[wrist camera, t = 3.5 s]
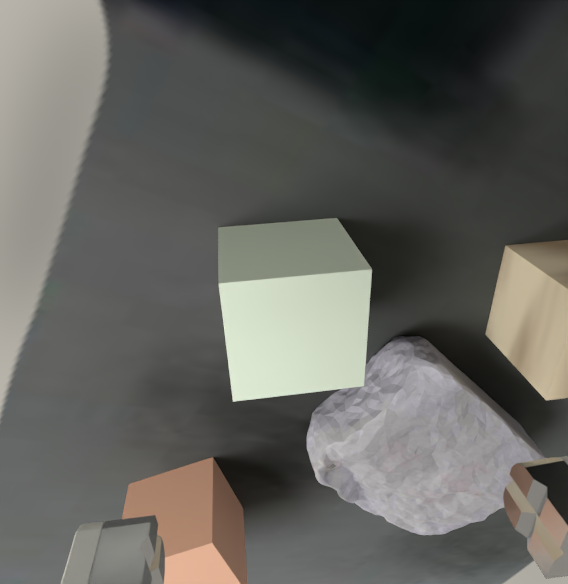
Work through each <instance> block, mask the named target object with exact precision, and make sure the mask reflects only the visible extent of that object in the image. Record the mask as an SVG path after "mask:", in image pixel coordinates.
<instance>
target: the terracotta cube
mask: <svg viewBox="0 0 568 584" xmlns="http://www.w3.org/2000/svg"><path fill="white" fill-rule="evenodd" d="M151 515H155V516H156V519H157V522H158V531H157V535H159V536H161V537H162V540H163V544H164V551H165V575H164V584H247V568H246V550H245V532H244V514H243V507H242V506H241V504H240V502H239V500H238V499H237V497H236V495H235V494H234V492H233V490H232V489H231V487H230V485H229V483H228V482H227V480H226V478H225V477H224V475H223V473H222V472H221V470H220V468H219V466H218V465H217V463H216V461H215V460H214V458H213V457H212V458H208V459H205V460H202V461H199V462H196V463H193V464H190V465H187V466H184V467H181V468H177V469H174V470H171V471H168V472H165V473H162V474H159V475H156V476H153V477H150V478H146V479H143V480H140V481H137V482H134V483H131V484H129V486H128V491H127V496H126V501H125V506H124V511H123V516H122V519H128V518H135V517H143V516H151Z"/></svg>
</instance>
